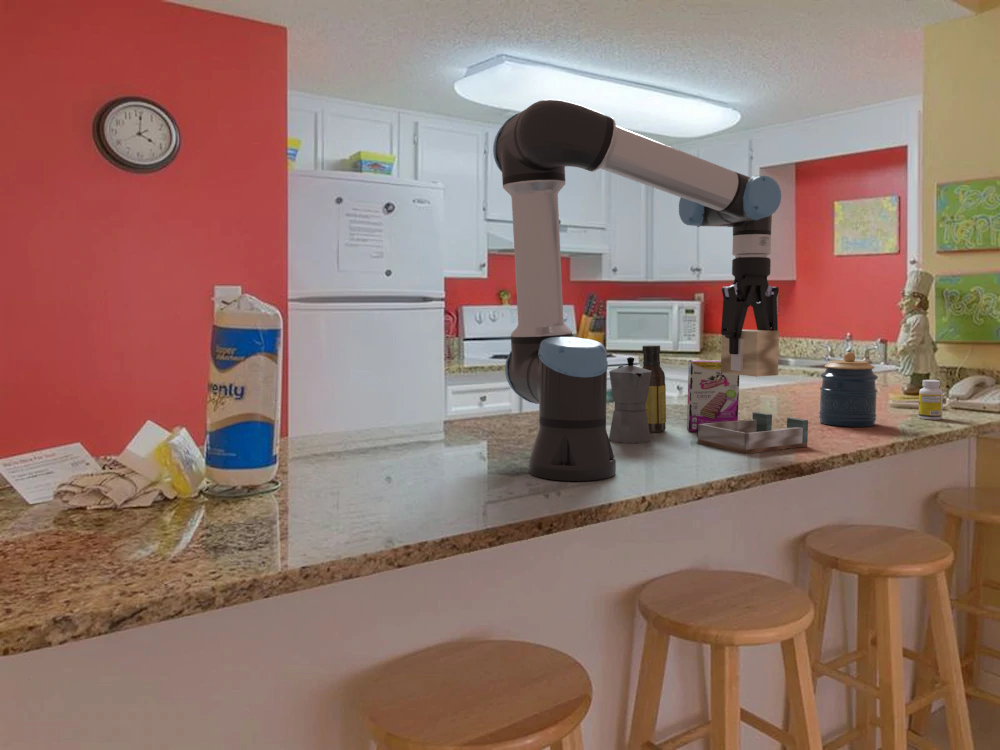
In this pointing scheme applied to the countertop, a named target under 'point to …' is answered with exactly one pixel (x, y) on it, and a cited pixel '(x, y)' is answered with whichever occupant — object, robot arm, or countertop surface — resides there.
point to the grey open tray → (754, 434)
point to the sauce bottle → (655, 389)
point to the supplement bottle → (930, 400)
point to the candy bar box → (711, 394)
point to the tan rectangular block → (754, 353)
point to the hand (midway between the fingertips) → (748, 369)
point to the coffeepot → (630, 404)
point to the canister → (848, 393)
